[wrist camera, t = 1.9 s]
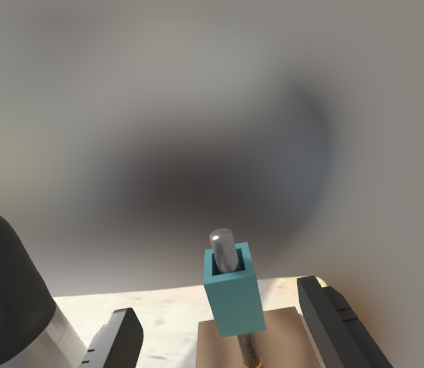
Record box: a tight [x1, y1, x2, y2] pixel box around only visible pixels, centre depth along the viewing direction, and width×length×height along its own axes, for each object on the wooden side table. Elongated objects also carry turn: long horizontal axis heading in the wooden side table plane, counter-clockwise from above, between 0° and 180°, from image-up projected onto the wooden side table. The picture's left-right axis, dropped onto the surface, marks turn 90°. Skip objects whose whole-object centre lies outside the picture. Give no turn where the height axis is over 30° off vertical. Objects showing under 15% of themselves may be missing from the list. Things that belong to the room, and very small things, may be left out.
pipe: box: [210, 228, 263, 368], centre depth 26 cm, size 3×3×24 cm
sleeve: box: [204, 242, 266, 338], centre depth 24 cm, size 5×5×8 cm
